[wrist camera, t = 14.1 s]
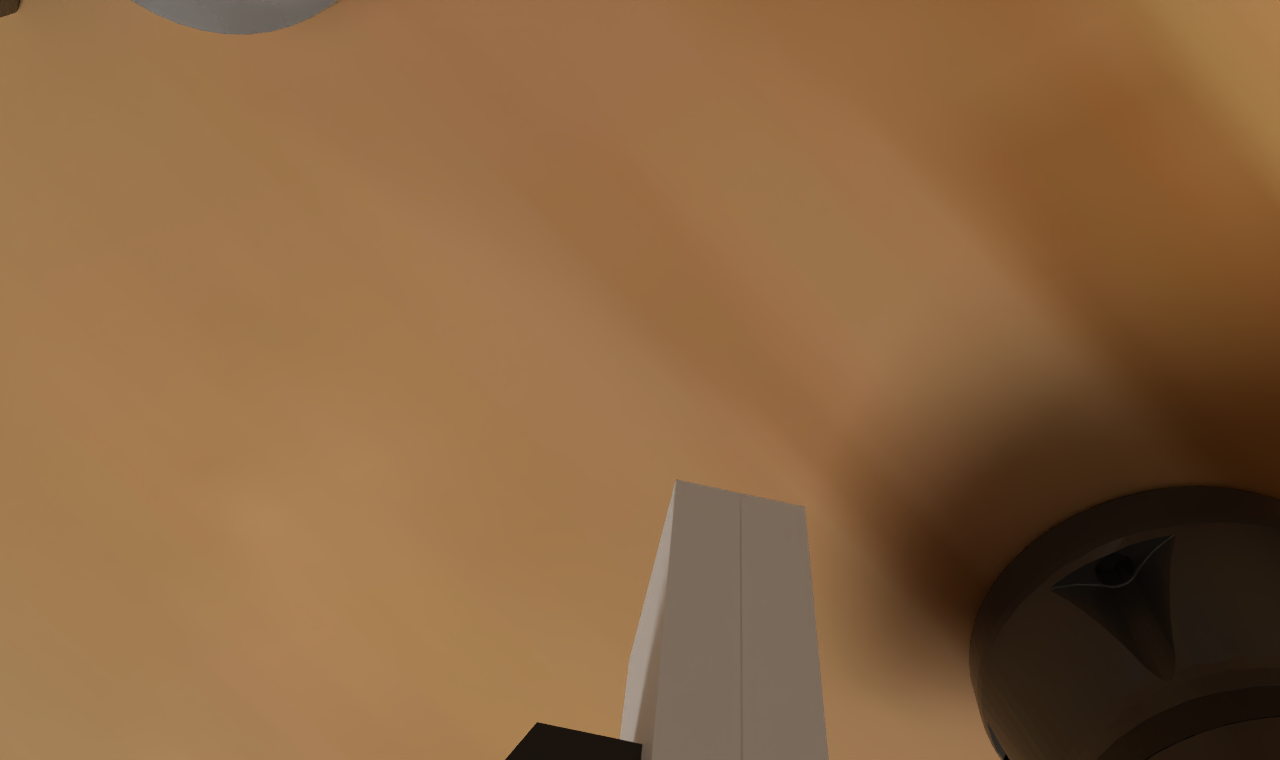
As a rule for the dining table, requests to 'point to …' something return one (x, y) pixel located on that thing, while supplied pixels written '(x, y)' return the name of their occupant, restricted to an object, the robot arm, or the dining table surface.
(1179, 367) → the dining table surface
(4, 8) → the keeper
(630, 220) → the dining table surface
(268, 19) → the pin plate
